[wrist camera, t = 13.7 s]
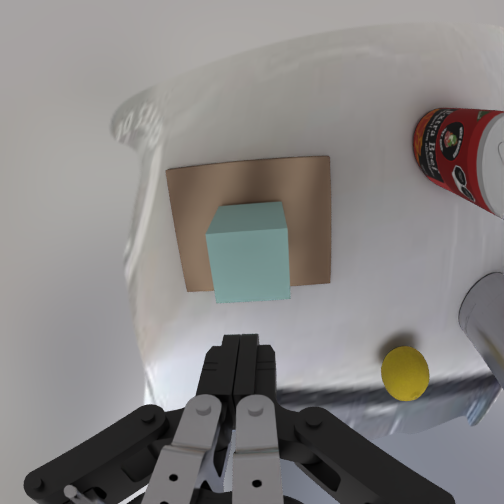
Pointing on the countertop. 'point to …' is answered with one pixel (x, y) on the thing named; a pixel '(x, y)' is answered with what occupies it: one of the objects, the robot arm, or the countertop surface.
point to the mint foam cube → (249, 253)
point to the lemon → (405, 373)
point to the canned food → (464, 154)
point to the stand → (248, 192)
